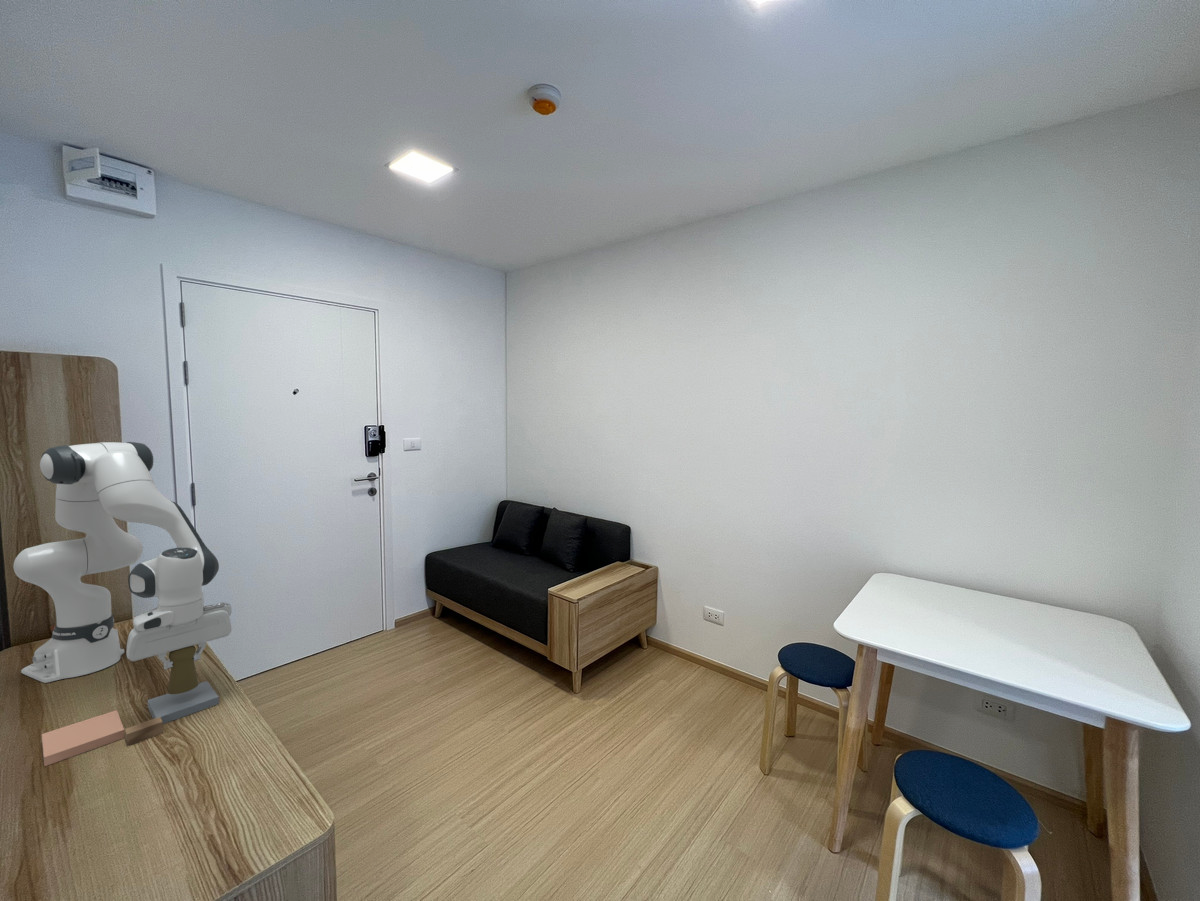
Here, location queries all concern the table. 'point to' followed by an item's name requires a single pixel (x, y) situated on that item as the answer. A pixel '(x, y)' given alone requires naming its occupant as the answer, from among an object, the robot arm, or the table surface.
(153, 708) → the steel tile
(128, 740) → the walnut brick
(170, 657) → the olive rounded tall piece
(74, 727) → the terracotta tile
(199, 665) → the table surface
